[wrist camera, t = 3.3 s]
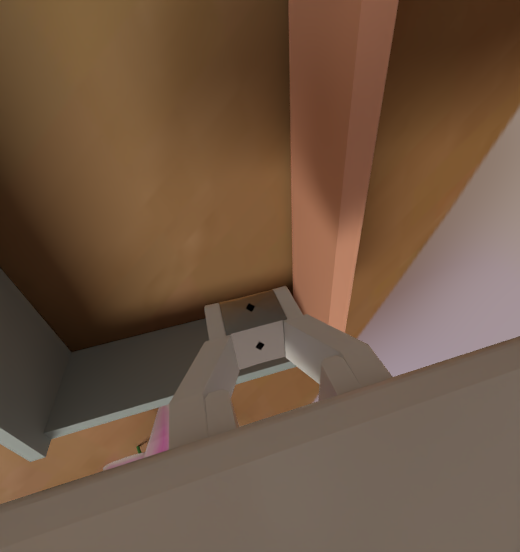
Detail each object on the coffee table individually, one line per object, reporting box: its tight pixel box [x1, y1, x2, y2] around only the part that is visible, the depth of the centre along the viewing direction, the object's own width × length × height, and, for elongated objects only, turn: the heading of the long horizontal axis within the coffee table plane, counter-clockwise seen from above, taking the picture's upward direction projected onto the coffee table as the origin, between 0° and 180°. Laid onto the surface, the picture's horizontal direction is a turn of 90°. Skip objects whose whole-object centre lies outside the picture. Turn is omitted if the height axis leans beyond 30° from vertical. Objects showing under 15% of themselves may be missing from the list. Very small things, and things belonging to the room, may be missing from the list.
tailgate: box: [289, 0, 399, 333], centre depth 15 cm, size 18×1×6 cm, turn 6°
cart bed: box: [0, 268, 296, 462], centre depth 13 cm, size 21×20×7 cm
